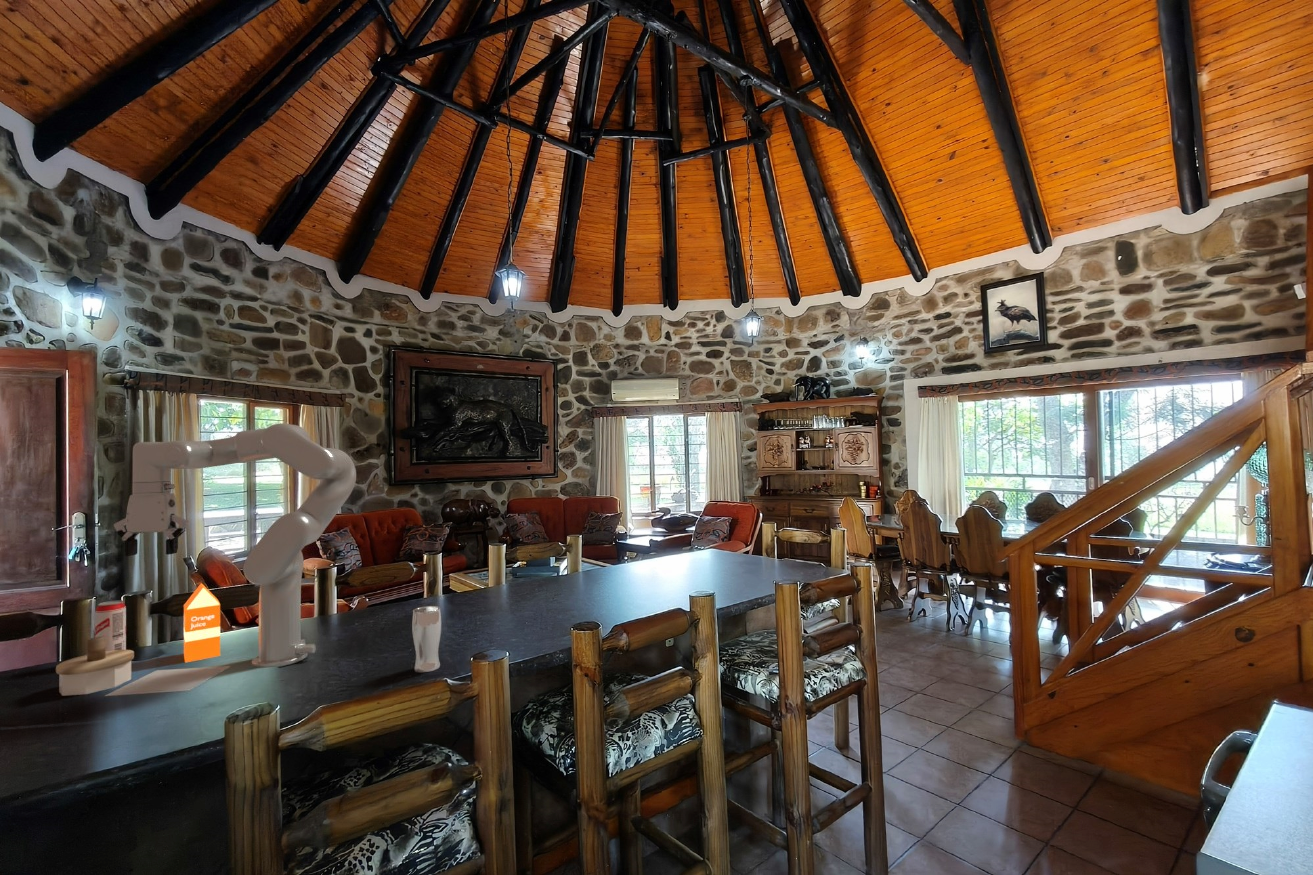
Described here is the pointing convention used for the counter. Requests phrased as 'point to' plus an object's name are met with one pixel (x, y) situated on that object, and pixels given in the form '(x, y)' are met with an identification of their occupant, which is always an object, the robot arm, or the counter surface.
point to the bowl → (94, 680)
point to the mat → (169, 681)
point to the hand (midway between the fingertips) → (151, 554)
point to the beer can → (111, 624)
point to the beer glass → (426, 637)
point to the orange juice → (201, 625)
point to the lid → (95, 658)
